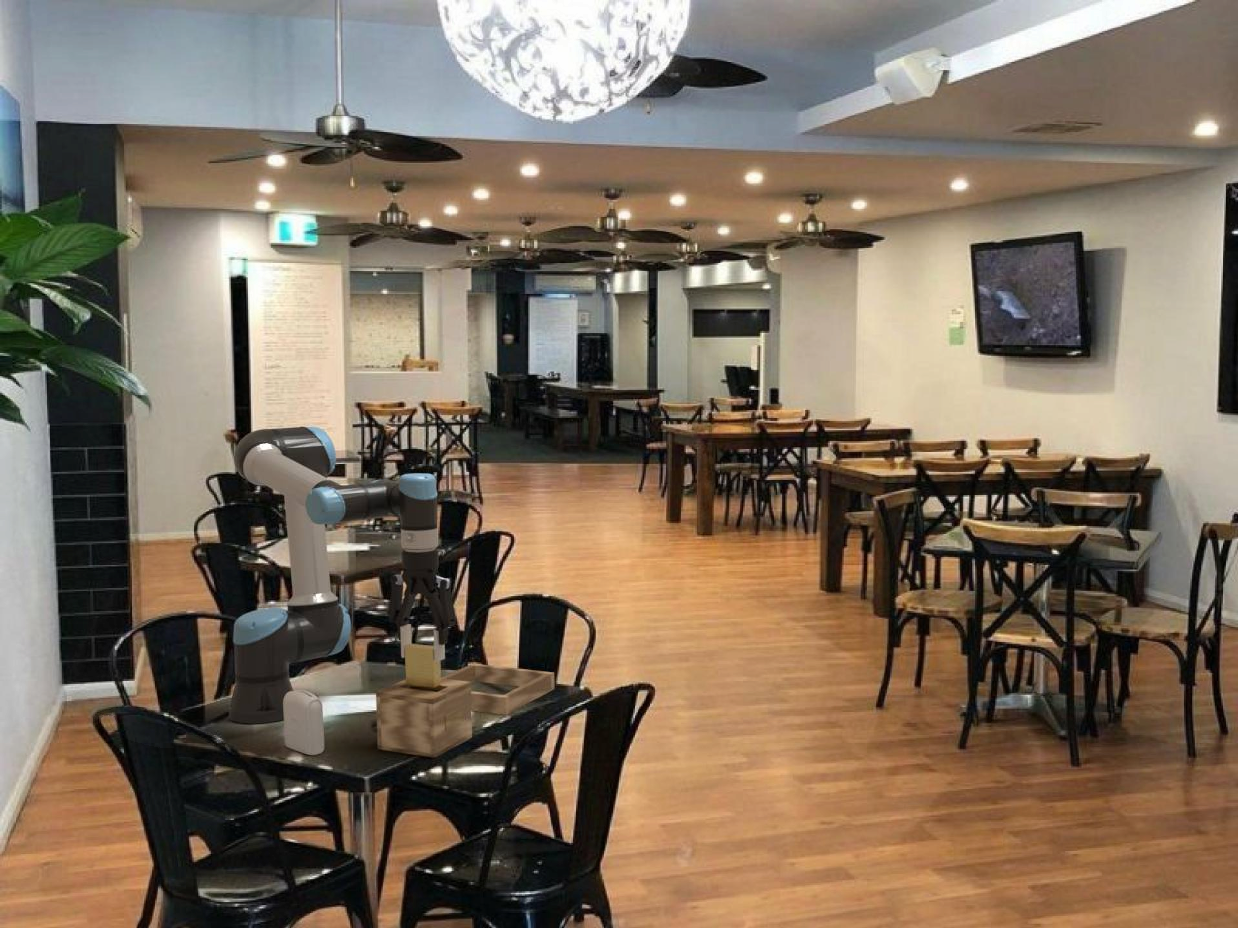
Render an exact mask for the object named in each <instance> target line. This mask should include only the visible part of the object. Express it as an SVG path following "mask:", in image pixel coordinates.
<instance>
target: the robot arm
mask: <svg viewBox="0 0 1238 928" xmlns="http://www.w3.org/2000/svg"><path fill="white" fill-rule="evenodd" d="M233 463H234V467H235V469H236V471H237V472H238V473H239V475H240V476H241V477H242V478H243V479H245V480H246V481H247V482H249V483H250V484H253V485H255V486H266V487H268V488H270V489H271V490H273V491H275V492H276V493H277V492H278V493H279V494H281V495H282V496H284V497H283V498H284V509H285V519H286V520H285V521H286V531H287V542H288V551H289V552H288V553H289V564H290V575H291V586H292V588H291V589H292V597H291V598H290V599H289V600H288V601H287V603H286V604H287V605H286V607H287V611H286V610H285V609H284V608H282V607H268V608H260V609H256V610H251V611H249V612H247V613H244V614H241V616H239V617H238V618H237V619H236V620H235V621H234V624H233V637H232V642H233V651H234V670H235V672H234V673H235V685H234V688H233V693H232V697H231V700H230V704H229V706H228V718H229V720H230V721H233V722H236V723H240V724H267V723H273V722H279V721H284V711H283V700H284V697H285V695H286V694H287V693H288V692H290V691H294V689H293V686H292V683H291V681H290V680H291V679H290V667H289V666H290V664H295V663H300V662H304V661H309V660H313V659H318V658H327V657H329V656H332V655H336V654H338V653H340V652H342V651H343V650H344V649H345V647H346V645H347V644H348V643H349V640H350V637H351V630H352V624H351V623H352V622H351V617H350V614H349V613H348V609H347V608H346V606H345V605H343V604H341V603H339V598H338V596H336V595H335V593H334V592H332V591H331V579H330V569H329V568H330V567H329V557H328V556H329V555H328V544H327V535H326V525H336V524H342V523H349V522H350V523H351V522H355V521H357V522H358V521H363V520H374V519H380V518H383V519H384V518H398V519H399V520H400V540H401V543H400V544H401V545H400V546H401V548H402V549H404V550H402V551H401V555H400V556H401V567H402V569H403V570H402V574H400V573H398V574H394V575H391V576H390V584H391V585H390V586H391V594H390V602H389V604H390V605H389V614H388V621H389V622H390V623H394V624H396V626H397V639H398V641H400V653H401V654H400V656H401V657H400V658H402V659H405V646H408V645H410V644H413V643H412V624H410V620H409V618H410V616H411V612H412V610H413V609H412V608H413V607H414V602H415V600H416V597H417V595H418V594H419V595H421V596H423V597H424V600H426V602H427V605H428V608H429V610H430V612H431V615H432V618H433V620H434V623H435V627H436V628H435V629H433V646H434V660H435V661H437V662H438V661H440V662H441V661H442V660H445V659H446V655H445V653H446V650H445V649H446V648H445V647H446V646H445V645H446V644H448V629H449V628H450V627H453V626H455V625H456V617H455V609H454V608H455V607H454V603H453V596H452V591H451V590H452V589H451V588H452V583H453V581H452V578H451V577H447V578H446V577H445V578H444V577H442V576H440V573H439V571H438V570H439V569H438V568H439V566H440V565H439V563H440V560H439V557H440V556H439V550H438V549H437V548H438V546H439V530H438V529H439V528H438V490H437V482H436V481H437V480H436V477H435V476H434V474H431V473H417V472H415V473H405V474H402V475H401V476H400V477H399V479H398V480H399V481H397V480H396V481H395V480H390V479H377V480H373V481H370V482H365V483H354V484H340V483H338V482H336V481H334V480H331V479H330V478H328V476H329V475H330V474H332V472H334V470H335V468H336V467H335V465H336V464H337V453H336V449H335V445H334V443H333V441H332V439H331V437H330V436H329V435H328V434H327V432H326V431H325V430H324V429H322V428H320V427H317V426H297V427H295V426H294V427H293V426H292V427H282V428H281V427H278V428H277V427H276V428H263V429H257V430H254V431H251V432H250V433H248V434H246V435H245V436H244V437H242V438H241V439H240V441H238V444H237V445H236V447H235V450H234V454H233ZM404 584H405V585H406V587H405V590H404ZM437 584H438V585H437ZM438 588H439V590H438ZM403 597H404V598H403Z"/></svg>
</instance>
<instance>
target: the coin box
mask: <svg viewBox="0 0 1238 928" xmlns="http://www.w3.org/2000/svg"><path fill="white" fill-rule="evenodd" d="M471 691H472V683H471V682H468V681H459V680H451V679H443V678H442V677H441V685H439V686H437V687H435V688H432V687H424V686H416V685H408V684H406V678H405V679H404V680H401V681H399V682H396V683H394V684H391V685H389V686H386V687H384V688H382V689H379V690H378V691H375V704H376V705H375V707H376V732H377V733H376V734H377V735H376V736H377V749H378V750H381V751H388V752H394V753H402V754H408V755H413V756H421V757H427V758H434V759H435V758H437V757H439V756H441V755H442V754H445V753H446V752H448V751H450V750H452V749H454V748H456V747H457V746H459V745H461V744H463V743H465V742H466V741H468V740H470V739H472V738H473V719H472V717H473V715H472V714H473V713H472V710H471Z"/></svg>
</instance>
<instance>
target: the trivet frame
mask: <svg viewBox="0 0 1238 928" xmlns="http://www.w3.org/2000/svg"><path fill="white" fill-rule="evenodd" d="M441 678H443V679H451V680H459V681H468V682H471V684H473V683H474V682H477V683H485V684H486V683H487V684H493V685H503V686H511V687H517V688H514V689H512V690H511V691H509V692H507V693H505V694H497V693H490V692H489V693H488V692H480V691H479V692H478V691H473V690H471V710H472V711H473V712H479V713H486V714H487V713H488V714H495V715H500V716H501V715H504V716H507V715H509V714H511V713H513V712H514V711H516V710H518V709H520V708H522V707H524V706H525V705H527V704H529V703H530V702H533V701H536V700H537V699H538V698H540V697H542V696H544V695H546V694H548V693H550V692H551V691H553V690H555V672H554V671H553V672H550V671H543V670H542V671H541V670H535V669H534V670H532V669H526V668H525V669H524V668H514V667H506V666H498V665H490V664H489V665H488V664H480V663H471V664H469V665H467V666H463V667H462V668H460V669H458V670H455V671H453V672H451V673H449V674H446V675H444V676H441Z"/></svg>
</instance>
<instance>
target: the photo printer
mask: <svg viewBox="0 0 1238 928" xmlns="http://www.w3.org/2000/svg"><path fill="white" fill-rule="evenodd" d="M323 707H324V706H323V703H322V701H321V699H320V698H319V697H318V696H316V695H315V694H313V693H312V692H310V691H308V690H304V689H293V691H290V692H288V693H287V694H286V695H285V697H284V700H283V711H284V719H283V725H284V726H283V730H284V744H285V746H286V747H287V748H289V749H291V750H293V751H297V752H300V753H301V754H305V755H309V756H317V755H320V754H322V753H323V751H325V732H324V730H325V729H324V712H323V711H324V710H323Z"/></svg>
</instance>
